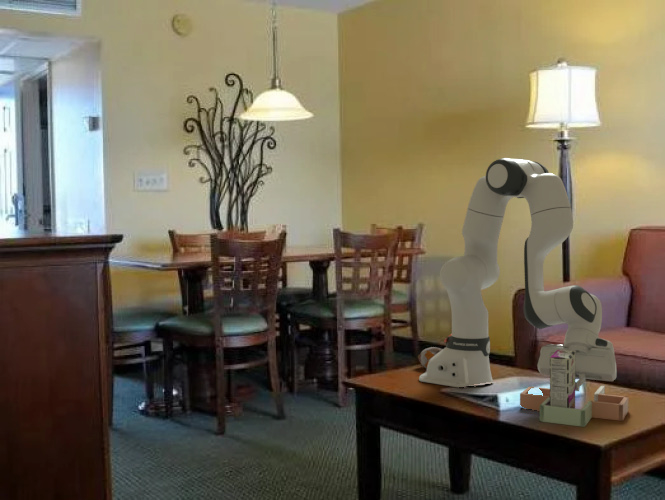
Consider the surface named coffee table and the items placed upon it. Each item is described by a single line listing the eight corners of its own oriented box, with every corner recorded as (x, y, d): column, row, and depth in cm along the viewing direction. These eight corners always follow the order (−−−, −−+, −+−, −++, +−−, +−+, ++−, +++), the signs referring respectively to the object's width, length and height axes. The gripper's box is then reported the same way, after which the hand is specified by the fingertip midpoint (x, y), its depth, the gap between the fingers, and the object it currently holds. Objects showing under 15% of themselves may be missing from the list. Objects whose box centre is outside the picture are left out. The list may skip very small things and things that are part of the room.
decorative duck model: (418, 345, 273) (462, 344, 270) (418, 367, 272) (462, 367, 269) (413, 348, 258) (460, 348, 255) (414, 371, 258) (461, 371, 255)
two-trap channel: (509, 417, 203) (510, 402, 202) (537, 393, 229) (537, 379, 229) (616, 430, 191) (617, 414, 190) (633, 403, 217) (633, 389, 217)
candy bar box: (556, 410, 210) (556, 348, 209) (575, 412, 208) (576, 350, 207) (548, 420, 200) (549, 356, 199) (568, 423, 198) (569, 357, 197)
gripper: (540, 336, 219) (531, 378, 211) (618, 342, 210) (611, 386, 202) (543, 350, 223) (535, 391, 215) (620, 356, 214) (614, 400, 206)
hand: (572, 389), depth 208 cm, fingers closed
